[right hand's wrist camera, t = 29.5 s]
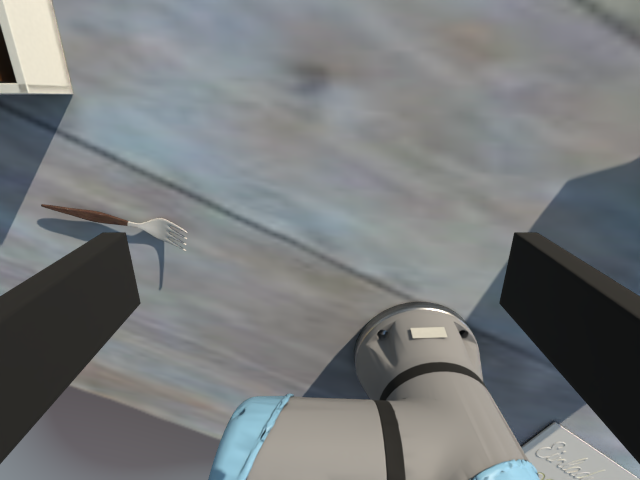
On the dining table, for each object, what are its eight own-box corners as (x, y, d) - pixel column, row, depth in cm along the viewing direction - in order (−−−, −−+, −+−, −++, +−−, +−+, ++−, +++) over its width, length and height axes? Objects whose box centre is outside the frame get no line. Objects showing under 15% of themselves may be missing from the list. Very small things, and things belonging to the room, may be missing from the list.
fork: (44, 192, 39) (30, 197, 37) (193, 224, 40) (187, 230, 38) (45, 214, 40) (31, 220, 38) (191, 245, 41) (185, 252, 39)
